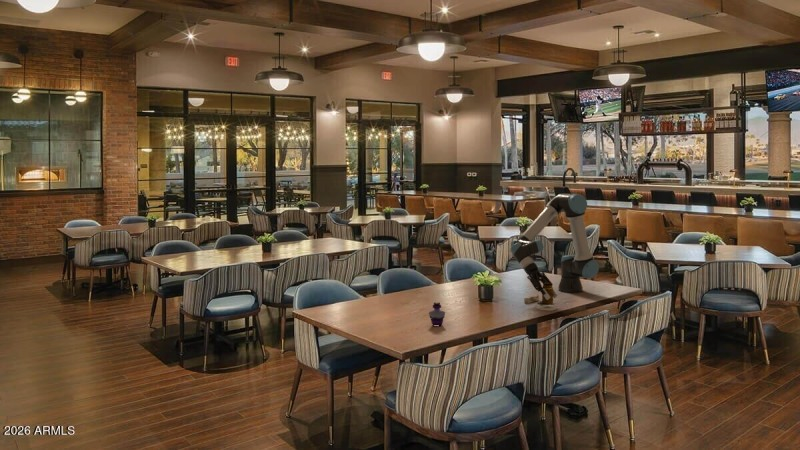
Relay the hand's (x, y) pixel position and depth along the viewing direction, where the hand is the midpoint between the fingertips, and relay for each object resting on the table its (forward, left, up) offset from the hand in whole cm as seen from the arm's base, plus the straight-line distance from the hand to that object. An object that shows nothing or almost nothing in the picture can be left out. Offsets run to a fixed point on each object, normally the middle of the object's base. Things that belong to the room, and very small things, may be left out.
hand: (552, 297), depth 359 cm
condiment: (+1, -4, -4) cm, 5 cm away
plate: (0, -4, -7) cm, 8 cm away
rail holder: (-8, -15, -7) cm, 18 cm away
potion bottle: (+70, -21, -7) cm, 74 cm away
